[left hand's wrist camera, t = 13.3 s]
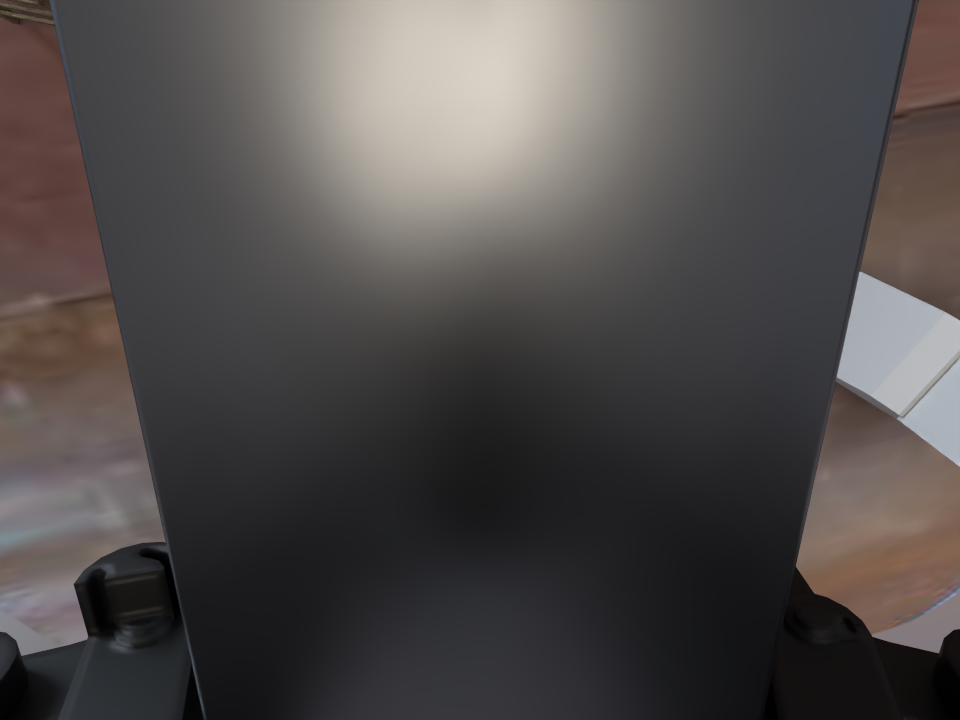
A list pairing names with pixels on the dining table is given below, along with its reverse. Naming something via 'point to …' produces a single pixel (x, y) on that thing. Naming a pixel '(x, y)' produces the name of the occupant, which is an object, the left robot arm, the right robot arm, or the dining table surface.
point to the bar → (483, 333)
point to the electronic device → (905, 362)
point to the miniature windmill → (13, 17)
